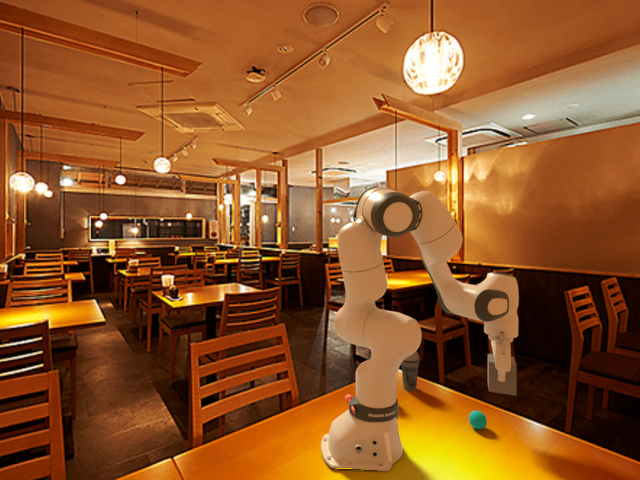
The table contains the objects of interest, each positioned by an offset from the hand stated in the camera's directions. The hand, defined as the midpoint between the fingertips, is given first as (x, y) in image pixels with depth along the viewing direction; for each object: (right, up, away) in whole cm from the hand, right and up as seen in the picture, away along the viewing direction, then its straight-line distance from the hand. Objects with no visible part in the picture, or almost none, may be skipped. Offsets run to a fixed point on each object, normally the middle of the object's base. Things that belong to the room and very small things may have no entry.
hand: (500, 374), depth 102 cm
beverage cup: (-19, -17, +29) cm, 38 cm away
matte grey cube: (0, -4, 0) cm, 4 cm away
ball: (-5, -15, +3) cm, 16 cm away
